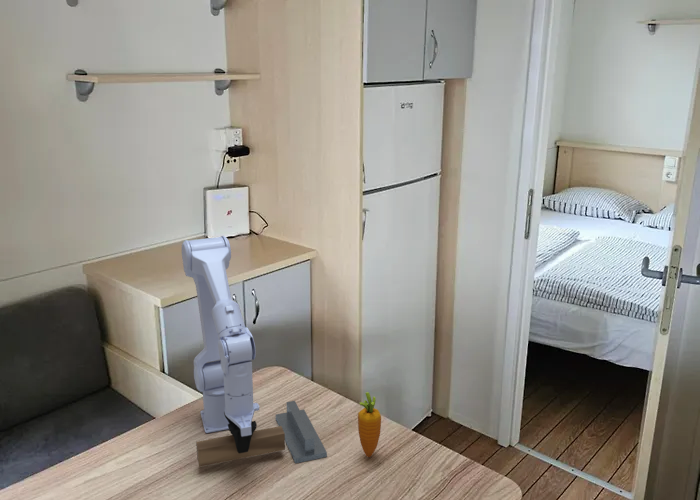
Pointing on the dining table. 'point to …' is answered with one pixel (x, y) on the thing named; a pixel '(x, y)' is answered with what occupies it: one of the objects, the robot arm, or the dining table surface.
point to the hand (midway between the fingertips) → (241, 446)
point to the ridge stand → (300, 434)
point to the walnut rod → (227, 450)
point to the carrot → (369, 425)
